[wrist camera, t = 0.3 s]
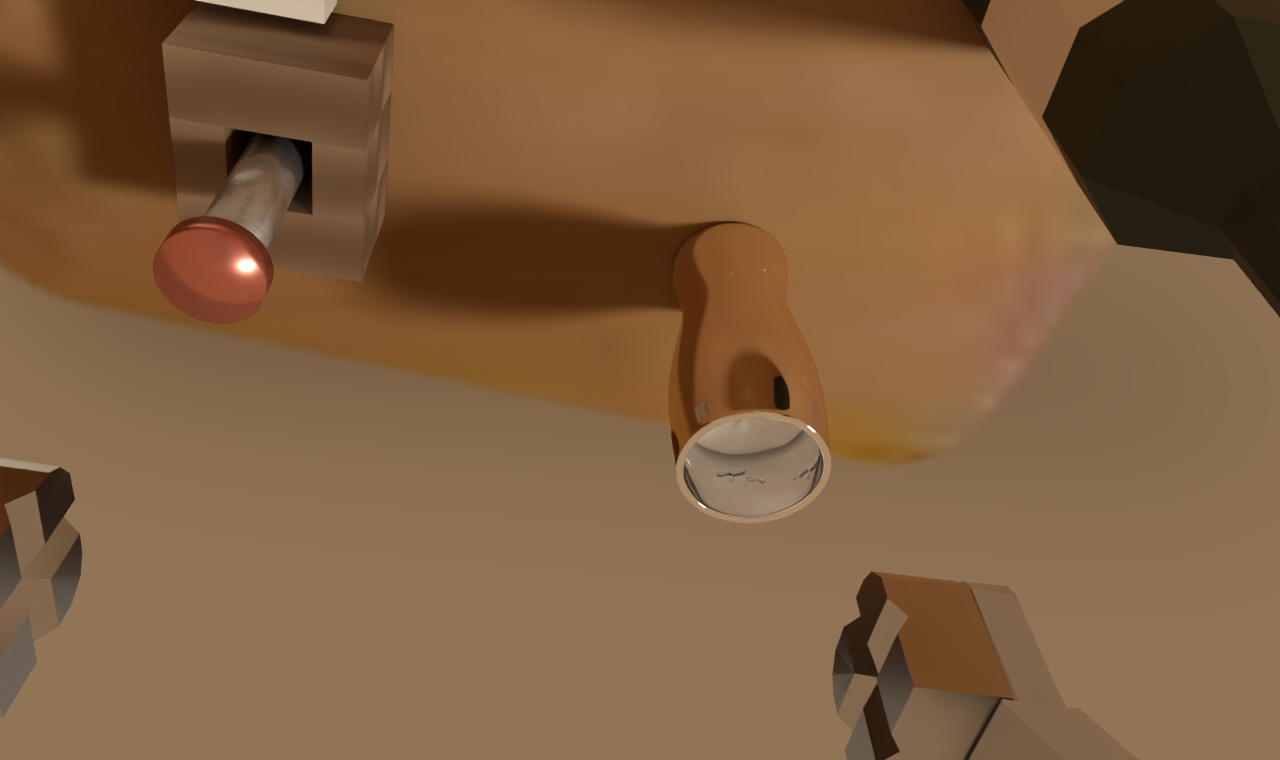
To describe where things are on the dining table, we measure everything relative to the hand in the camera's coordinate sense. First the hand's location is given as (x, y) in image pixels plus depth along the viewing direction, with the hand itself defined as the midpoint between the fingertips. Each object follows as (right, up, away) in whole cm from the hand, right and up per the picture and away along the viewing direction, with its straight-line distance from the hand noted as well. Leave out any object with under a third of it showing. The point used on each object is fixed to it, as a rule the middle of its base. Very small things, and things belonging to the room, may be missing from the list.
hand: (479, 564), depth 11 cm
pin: (-14, +15, +39) cm, 44 cm away
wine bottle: (+20, +20, +35) cm, 45 cm away
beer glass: (+6, +8, +45) cm, 46 cm away
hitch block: (-14, +15, +39) cm, 44 cm away
